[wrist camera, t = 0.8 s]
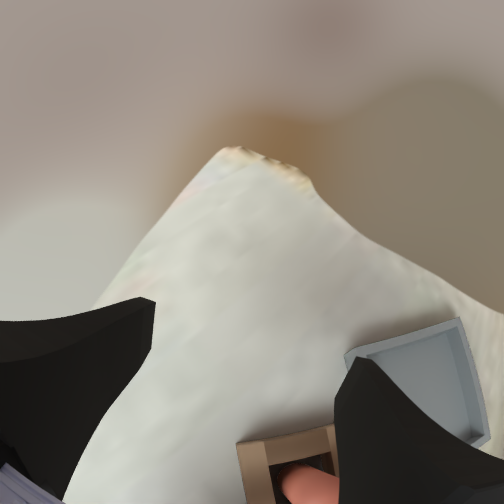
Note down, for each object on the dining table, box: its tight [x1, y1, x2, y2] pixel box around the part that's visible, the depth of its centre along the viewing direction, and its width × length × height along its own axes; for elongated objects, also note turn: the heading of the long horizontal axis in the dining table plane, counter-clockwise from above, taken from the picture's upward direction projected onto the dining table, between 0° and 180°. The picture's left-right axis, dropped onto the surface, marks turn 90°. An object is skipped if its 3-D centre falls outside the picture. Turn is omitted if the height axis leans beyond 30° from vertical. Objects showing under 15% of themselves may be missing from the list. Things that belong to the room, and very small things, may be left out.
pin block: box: [236, 423, 339, 504], centre depth 17 cm, size 8×8×3 cm
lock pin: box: [277, 463, 339, 504], centre depth 15 cm, size 3×3×8 cm
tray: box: [344, 317, 491, 449], centre depth 21 cm, size 13×12×2 cm
